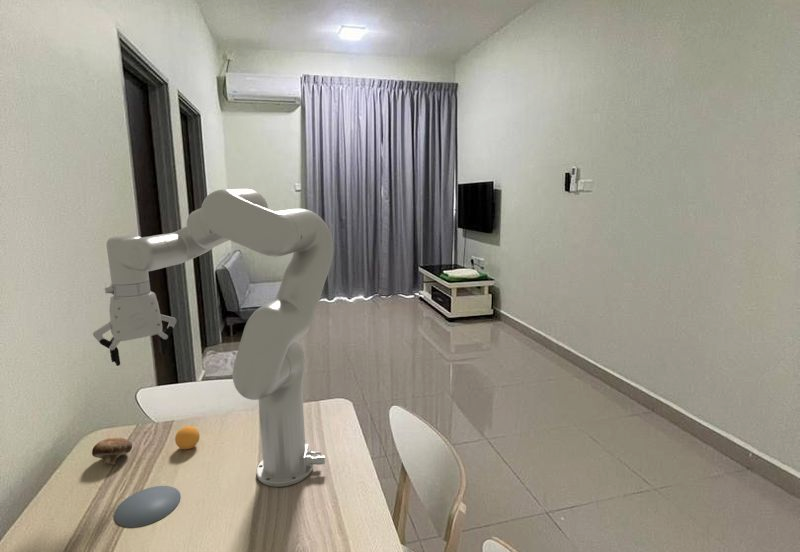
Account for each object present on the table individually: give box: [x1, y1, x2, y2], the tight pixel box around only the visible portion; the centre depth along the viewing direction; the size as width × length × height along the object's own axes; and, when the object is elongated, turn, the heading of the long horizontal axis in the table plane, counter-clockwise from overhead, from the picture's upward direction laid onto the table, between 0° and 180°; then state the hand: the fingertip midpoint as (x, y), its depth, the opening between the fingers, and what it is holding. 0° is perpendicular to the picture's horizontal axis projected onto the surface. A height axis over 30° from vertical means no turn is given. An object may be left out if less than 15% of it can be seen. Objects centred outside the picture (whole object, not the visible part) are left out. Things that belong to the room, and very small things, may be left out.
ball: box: [175, 425, 200, 450], centre depth 114 cm, size 6×6×6 cm
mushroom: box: [91, 437, 133, 466], centre depth 109 cm, size 8×8×6 cm
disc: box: [113, 485, 182, 528], centre depth 94 cm, size 12×12×1 cm
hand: (140, 358), depth 109 cm, fingers open, 9 cm apart
